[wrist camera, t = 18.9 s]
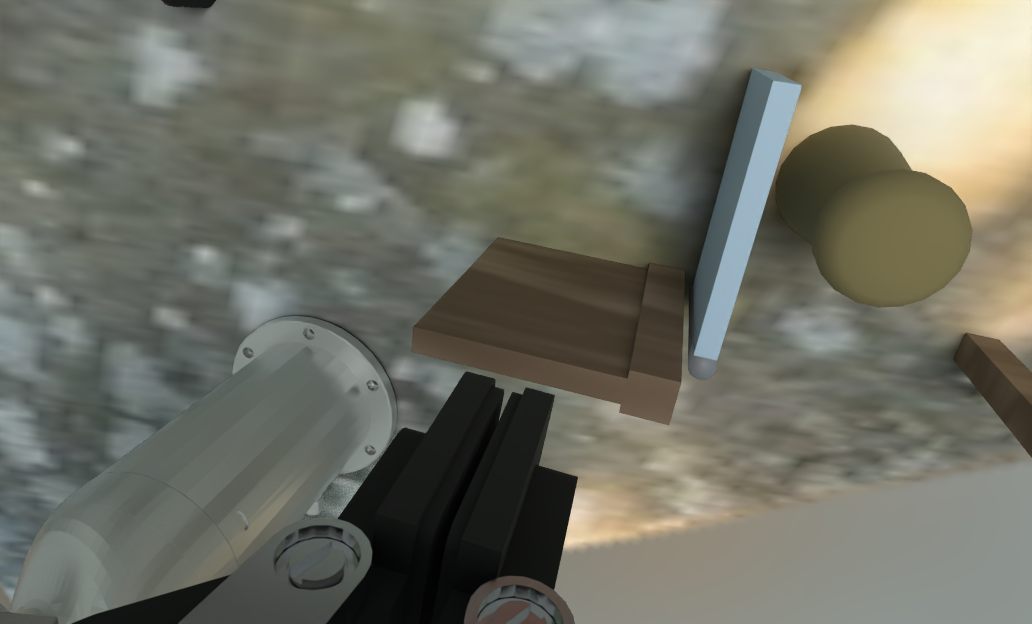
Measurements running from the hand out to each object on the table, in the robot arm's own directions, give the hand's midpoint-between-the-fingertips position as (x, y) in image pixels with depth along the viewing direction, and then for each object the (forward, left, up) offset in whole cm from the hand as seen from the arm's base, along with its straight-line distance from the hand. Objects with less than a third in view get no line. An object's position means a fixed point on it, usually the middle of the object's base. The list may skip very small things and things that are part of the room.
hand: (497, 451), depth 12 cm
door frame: (-6, -7, -26) cm, 27 cm away
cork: (+1, -11, -26) cm, 28 cm away
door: (0, -5, -26) cm, 26 cm away
